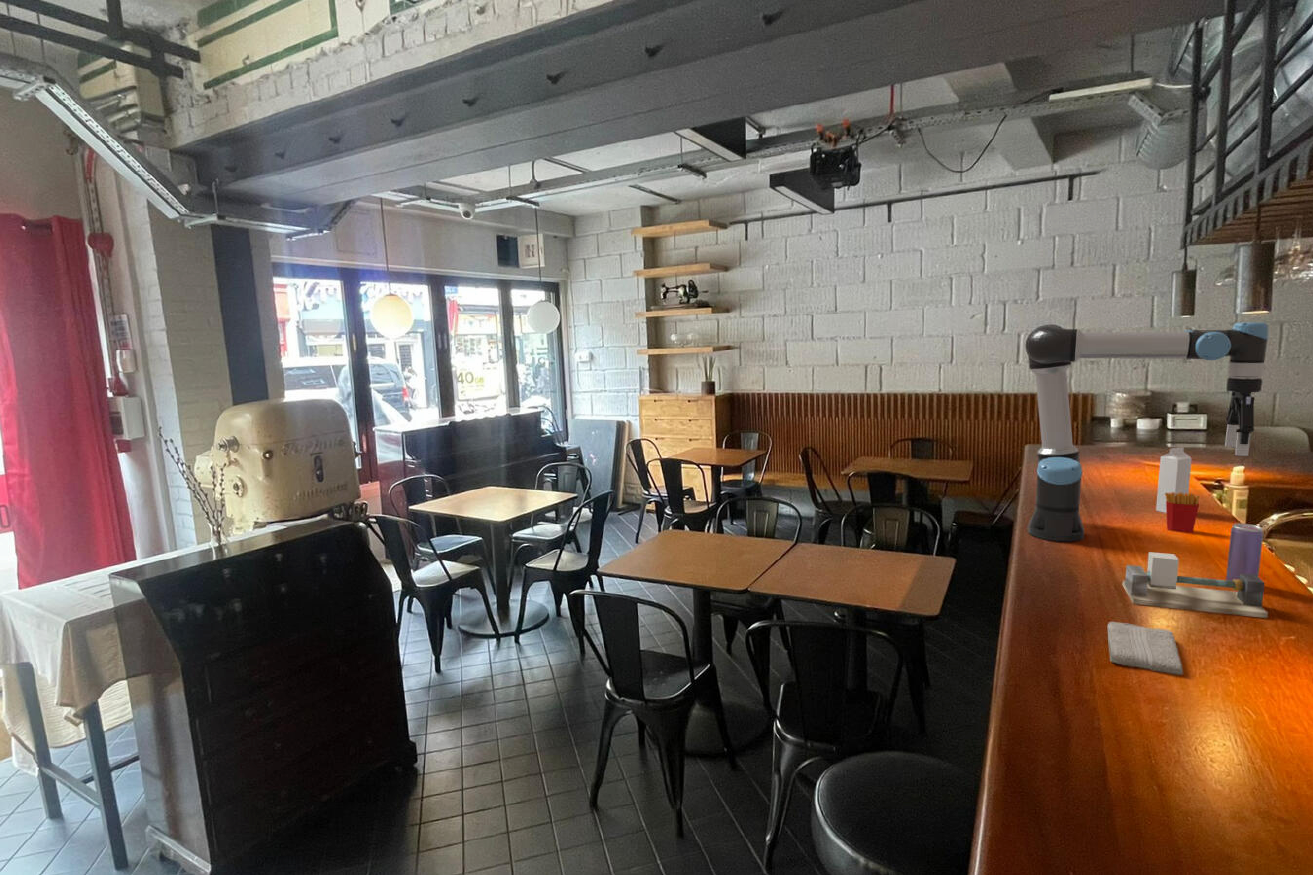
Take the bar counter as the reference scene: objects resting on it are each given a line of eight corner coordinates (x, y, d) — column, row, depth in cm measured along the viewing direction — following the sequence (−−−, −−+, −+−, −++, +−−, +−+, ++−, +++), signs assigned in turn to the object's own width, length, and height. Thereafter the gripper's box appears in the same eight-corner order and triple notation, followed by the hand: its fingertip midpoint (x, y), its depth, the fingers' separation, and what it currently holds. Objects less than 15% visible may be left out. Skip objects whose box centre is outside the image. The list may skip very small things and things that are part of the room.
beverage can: (1250, 591, 166) (1256, 532, 164) (1220, 583, 172) (1226, 525, 169) (1261, 585, 169) (1268, 527, 166) (1232, 578, 174) (1239, 521, 172)
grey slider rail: (1133, 603, 162) (1135, 575, 161) (1122, 585, 173) (1124, 558, 172) (1267, 618, 152) (1270, 588, 151) (1247, 597, 163) (1250, 569, 162)
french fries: (1195, 530, 212) (1199, 492, 210) (1196, 533, 209) (1200, 495, 207) (1161, 526, 216) (1164, 489, 214) (1162, 529, 213) (1165, 492, 211)
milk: (1186, 513, 229) (1193, 448, 225) (1172, 515, 227) (1179, 450, 224) (1168, 508, 235) (1175, 445, 231) (1155, 510, 233) (1161, 447, 229)
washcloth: (1171, 640, 145) (1172, 626, 145) (1185, 679, 130) (1186, 664, 129) (1104, 629, 151) (1105, 616, 150) (1110, 666, 136) (1111, 651, 135)
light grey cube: (1150, 587, 164) (1152, 557, 162) (1146, 581, 167) (1148, 552, 166) (1175, 589, 162) (1178, 559, 160) (1171, 583, 165) (1173, 554, 164)
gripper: (1274, 382, 181) (1264, 460, 185) (1251, 373, 202) (1242, 444, 206) (1237, 381, 185) (1228, 458, 188) (1219, 373, 206) (1211, 442, 210)
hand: (1236, 451), depth 197 cm, fingers open, 13 cm apart
